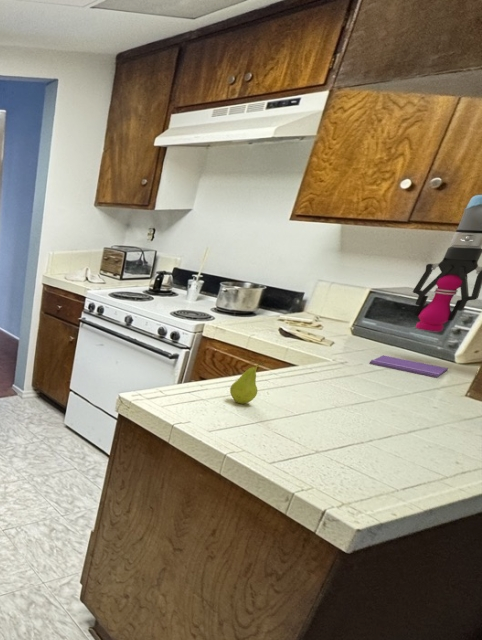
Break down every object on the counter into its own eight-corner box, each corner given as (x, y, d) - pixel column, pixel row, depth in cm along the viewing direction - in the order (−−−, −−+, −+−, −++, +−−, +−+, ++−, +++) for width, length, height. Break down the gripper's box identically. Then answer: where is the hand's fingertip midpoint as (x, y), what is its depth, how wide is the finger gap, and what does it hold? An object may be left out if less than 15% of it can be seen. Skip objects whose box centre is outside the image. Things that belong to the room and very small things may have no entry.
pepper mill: (418, 325, 164) (445, 267, 157) (447, 330, 158) (476, 270, 151) (409, 327, 161) (436, 268, 154) (438, 332, 155) (467, 271, 148)
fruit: (224, 396, 128) (237, 355, 124) (249, 400, 127) (263, 358, 122) (229, 404, 123) (243, 361, 119) (256, 408, 122) (270, 364, 117)
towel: (447, 370, 154) (448, 367, 153) (436, 377, 147) (438, 374, 146) (381, 357, 166) (383, 354, 166) (369, 363, 159) (370, 360, 159)
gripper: (419, 244, 155) (390, 312, 164) (513, 250, 140) (475, 325, 148) (425, 244, 159) (396, 310, 168) (517, 249, 144) (480, 322, 152)
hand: (433, 317), depth 158 cm, fingers closed on pepper mill, 7 cm apart
